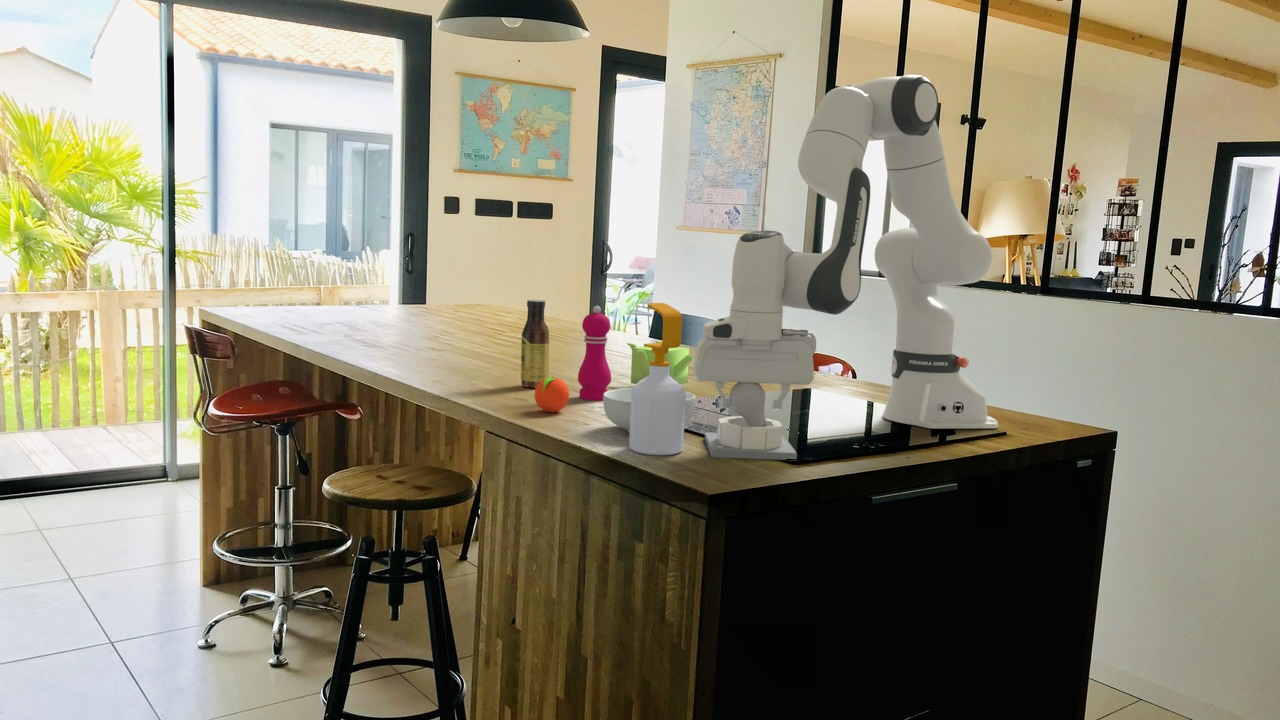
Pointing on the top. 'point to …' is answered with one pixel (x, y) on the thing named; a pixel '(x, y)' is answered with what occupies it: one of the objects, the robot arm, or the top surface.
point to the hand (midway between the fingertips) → (751, 408)
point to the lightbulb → (749, 403)
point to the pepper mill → (595, 357)
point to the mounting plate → (748, 450)
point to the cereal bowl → (620, 406)
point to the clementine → (552, 394)
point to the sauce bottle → (534, 346)
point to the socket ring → (749, 434)
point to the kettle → (675, 357)
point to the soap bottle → (659, 396)
